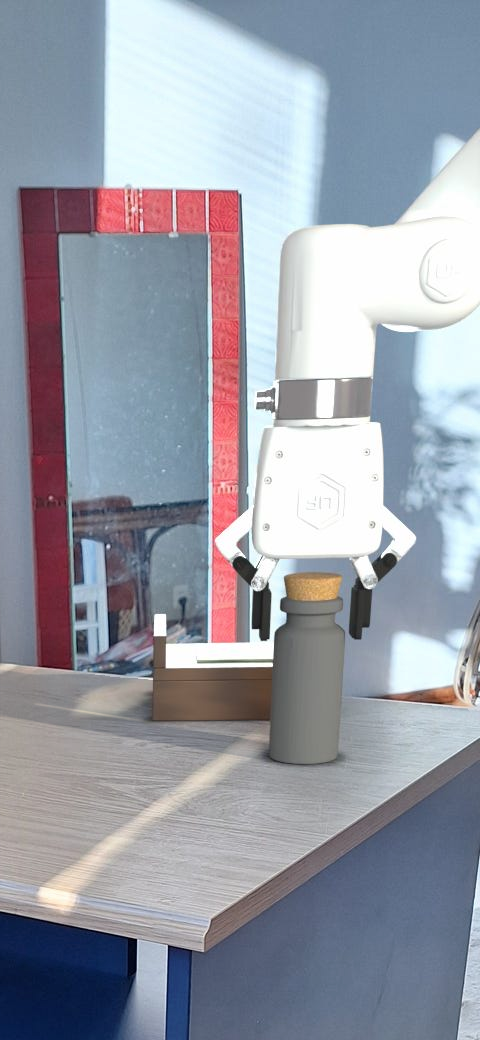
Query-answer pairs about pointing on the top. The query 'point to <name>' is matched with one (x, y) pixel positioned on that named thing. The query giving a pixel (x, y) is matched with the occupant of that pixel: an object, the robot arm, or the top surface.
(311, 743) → the bottle
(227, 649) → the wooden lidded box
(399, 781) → the top surface
